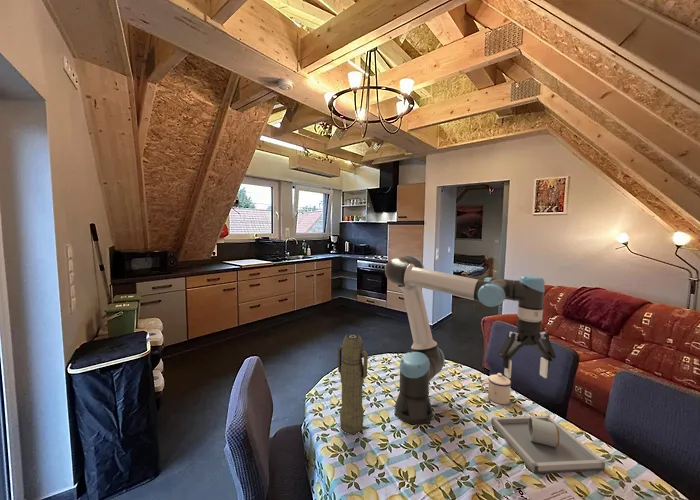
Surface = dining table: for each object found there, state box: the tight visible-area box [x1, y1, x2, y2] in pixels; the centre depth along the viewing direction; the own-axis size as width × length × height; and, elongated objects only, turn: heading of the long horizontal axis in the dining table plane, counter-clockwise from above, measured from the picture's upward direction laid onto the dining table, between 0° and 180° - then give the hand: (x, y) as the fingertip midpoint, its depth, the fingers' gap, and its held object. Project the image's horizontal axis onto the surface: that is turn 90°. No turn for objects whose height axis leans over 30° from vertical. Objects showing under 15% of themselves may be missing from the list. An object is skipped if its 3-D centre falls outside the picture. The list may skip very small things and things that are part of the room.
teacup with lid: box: [480, 372, 512, 405], centre depth 127 cm, size 12×9×12 cm
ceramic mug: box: [528, 417, 560, 447], centre depth 100 cm, size 11×8×8 cm
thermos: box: [337, 333, 369, 435], centre depth 107 cm, size 9×12×35 cm
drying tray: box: [490, 415, 606, 475], centre depth 99 cm, size 23×23×2 cm
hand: (525, 376), depth 103 cm, fingers open, 13 cm apart
